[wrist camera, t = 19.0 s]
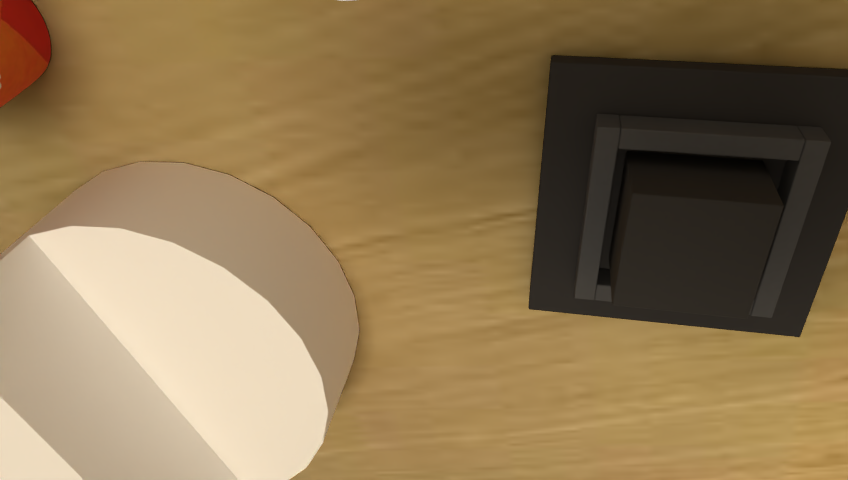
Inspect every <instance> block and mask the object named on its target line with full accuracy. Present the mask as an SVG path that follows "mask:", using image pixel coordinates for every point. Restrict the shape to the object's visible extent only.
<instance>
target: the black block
mask: <svg viewBox="0 0 848 480" xmlns="http://www.w3.org/2000/svg"><path fill="white" fill-rule="evenodd" d="M783 207H784V205H783V203H782V201H781V199H780V197H779V194H778V192H777V190H776V188H775V186H774V184H773V181H772V179H771V177H770V175H769V173H768V171H767V168H766V166H765V164H764V162H763V161H755V160H741V159H727V158H713V157H699V156H685V155H671V154H658V153H644V152H630V151H628V152H627V153H626V158H625V164H624V170H623V176H622V182H621V188H620V194H619V200H618V206H617V211H616V217H615V223H614V229H613V235H612V241H611V247H610V253H609V265H610V281H611V297H612V305H616V306H626V307H635V308H645V309H655V310H664V311H674V312H683V313H693V314H703V315H712V316H722V317H731V318H741V319H748V317H749V313H750V310H751V307H752V304H753V301H754V298H755V295H756V292H757V288H758V285H759V282H760V279H761V276H762V273H763V270H764V267H765V264H766V260H767V257H768V254H769V251H770V248H771V245H772V242H773V239H774V235H775V232H776V229H777V226H778V223H779V220H780V217H781V214H782V211H783Z"/></svg>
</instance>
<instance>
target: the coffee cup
mask: <svg viewBox="0 0 848 480" xmlns="http://www.w3.org/2000/svg"><path fill="white" fill-rule="evenodd" d="M50 56H51V43H50V37H49V33H48V30H47V27H46V25H45V22H44V20H43V18H42V16H41V14H40V13H39V11H38V10H37V8H36V7H35V5H34V4H33V3H32V1H31V0H0V107H2V106H3V105H4V104H6V103H7V102H8V101H10V100H11V99H12V98H14V97H15V96H17V95H18V94H19V93H20V92H22V91H23V90H24V89H26V88H27V87H28V86H30V85H31V84H32V83H33V82H34V81H36V80H37V79H38V78H39V77H40V76H41V75H42V74H43V73H44V71H45V70H46V68H47V66H48V64H49V61H50Z"/></svg>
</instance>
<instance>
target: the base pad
mask: <svg viewBox="0 0 848 480" xmlns="http://www.w3.org/2000/svg"><path fill="white" fill-rule="evenodd" d="M628 151H630V152H644V153H658V154H671V155H685V156H699V157H713V158H727V159H741V160H755V161H763V162H764V164H765V166H766V168H767V171H768V173H769V175H770V177H771V179H772V181H773V184H774V186H775V188H776V190H777V192H778V194H779V197H780V199H781V201H782V203H783V205H784V207H783V211H782V214H781V217H780V220H779V223H778V226H777V229H776V232H775V235H774V239H773V242H772V245H771V248H770V251H769V254H768V257H767V260H766V264H765V267H764V270H763V273H762V276H761V279H760V282H759V285H758V288H757V292H756V295H755V298H754V301H753V304H752V307H751V310H750V313H749V317H748V319H741V318H731V317H722V316H712V315H703V314H693V313H683V312H674V311H664V310H655V309H645V308H635V307H626V306H616V305H612V297H611V281H610V265H609V253H610V247H611V241H612V235H613V229H614V223H615V217H616V211H617V206H618V200H619V194H620V188H621V182H622V176H623V170H624V164H625V158H626V153H627V152H628ZM847 210H848V70H847V69H826V68H805V67H785V66H764V65H744V64H723V63H703V62H682V61H661V60H641V59H620V58H600V57H579V56H558V55H553V56H551V63H550V74H549V86H548V97H547V108H546V119H545V130H544V141H543V152H542V163H541V174H540V185H539V196H538V208H537V219H536V230H535V241H534V252H533V263H532V274H531V285H530V296H529V309H533V310H542V311H552V312H562V313H571V314H581V315H591V316H601V317H610V318H620V319H630V320H639V321H649V322H659V323H668V324H678V325H688V326H697V327H707V328H717V329H727V330H736V331H746V332H756V333H765V334H775V335H785V336H794V337H800V335H801V332H802V330H803V327H804V324H805V322H806V319H807V316H808V314H809V311H810V308H811V306H812V303H813V300H814V298H815V295H816V292H817V290H818V287H819V284H820V282H821V279H822V276H823V274H824V271H825V268H826V266H827V263H828V260H829V258H830V255H831V252H832V250H833V247H834V244H835V242H836V239H837V236H838V234H839V231H840V228H841V226H842V223H843V220H844V218H845V215H846V212H847Z"/></svg>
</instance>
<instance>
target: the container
mask: <svg viewBox="0 0 848 480" xmlns="http://www.w3.org/2000/svg"><path fill="white" fill-rule="evenodd" d="M359 331H360V330H359V323H358V316H357V310H356V303H355V297H354V294H353V292H352V290H351V288H350V286H349V284H348V282H347V279H346V277H345V275H344V273H343V271H342V269H341V266H340V264H339V262H338V261H337V259H336V258H335V257H334V256H333V254H332V253H331V252H330V251H329V249H328V248H327V247H326V246H325V244H324V243H323V242H322V241H321V239H320V238H319V237H318V236H317V235H316V233H315V232H314V231H313V230H312V228H311V227H310V226H309V225H307V224H306V223H305V222H304V221H302V220H301V219H300V218H299V217H297V216H296V215H295V214H294V213H292V212H291V211H290V210H289V209H287V208H286V207H285V206H284V205H282V204H281V203H280V202H279V201H277V200H276V199H275V198H274V197H272V196H270V195H268V194H266V193H264V192H262V191H260V190H258V189H256V188H254V187H252V186H250V185H248V184H246V183H244V182H243V181H241V180H239V179H237V178H235V177H233V176H231V175H228V174H224V173H220V172H217V171H213V170H209V169H206V168H202V167H198V166H194V165H191V164H187V163H174V162H137V163H133V164H129V165H126V166H122V167H118V168H114V169H110V170H106V171H103V172H102V173H100V174H99V175H97V176H96V177H94V178H93V179H91V180H90V181H88V182H87V183H85V184H84V185H82V186H81V187H79V188H78V189H76V190H75V191H74V192H73V193H71V194H70V195H69V196H68V197H67V198H66V199H64V200H63V201H62V202H61V203H60V204H59V205H57V206H56V207H55V208H54V209H53V210H52V211H50V212H49V213H48V214H47V215H46V216H44V217H43V218H42V219H41V220H40V221H39V222H37V223H36V224H35V225H34V226H33V227H32V228H30V229H29V230H28V231H27V232H26V233H25V234H23V235H22V236H21V237H20V238H19V239H18V240H16V241H15V242H14V243H13V244H12V245H11V246H9V247H8V248H7V249H6V250H5V251H4V252H2V253H1V254H0V480H289V479H291V478H292V477H293V476H295V475H296V474H298V473H299V472H301V471H302V470H303V469H305V468H306V467H307V466H308V465H309V463H310V462H311V460H312V458H313V457H314V455H315V454H316V452H317V451H318V449H319V448H320V446H321V445H322V443H323V441H324V438H325V436H326V433H327V430H328V428H329V425H330V422H331V420H332V417H333V414H334V412H335V409H336V406H337V404H338V401H339V398H340V396H341V393H342V390H343V388H344V385H345V382H346V380H347V377H348V374H349V372H350V369H351V366H352V364H353V361H354V356H355V351H356V346H357V341H358V336H359Z"/></svg>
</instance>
